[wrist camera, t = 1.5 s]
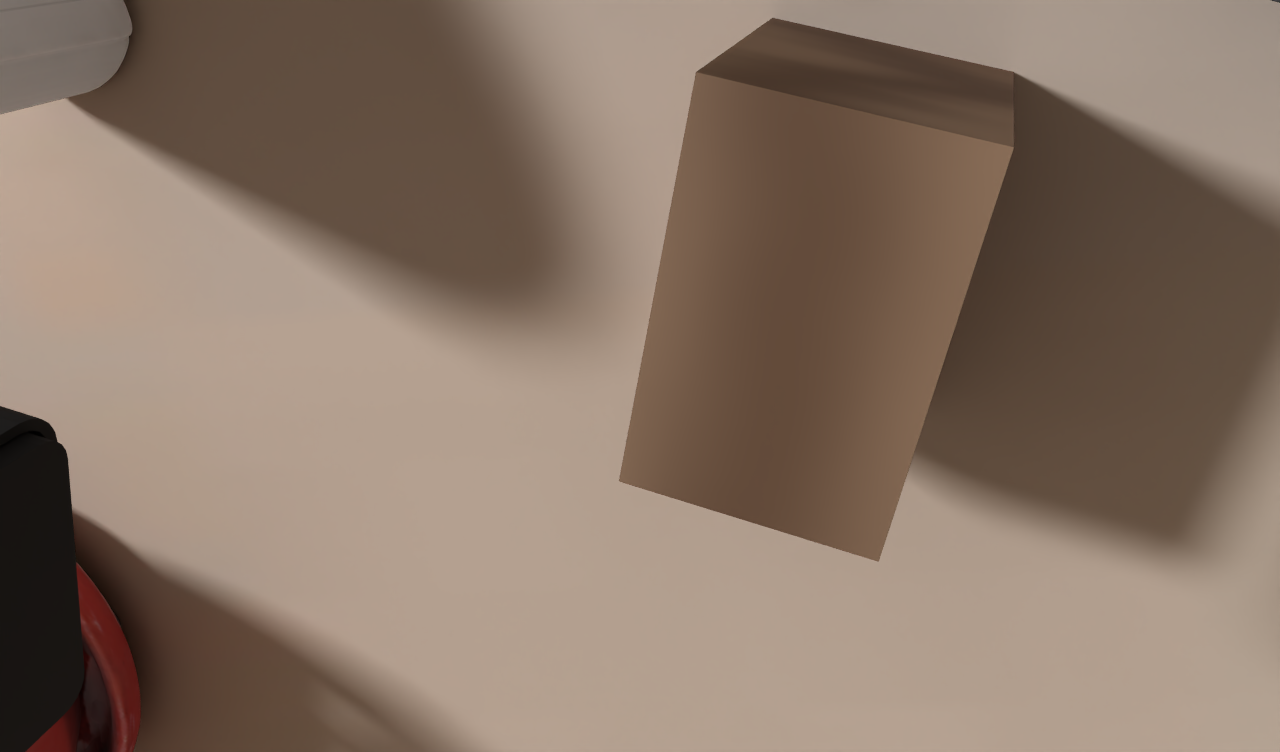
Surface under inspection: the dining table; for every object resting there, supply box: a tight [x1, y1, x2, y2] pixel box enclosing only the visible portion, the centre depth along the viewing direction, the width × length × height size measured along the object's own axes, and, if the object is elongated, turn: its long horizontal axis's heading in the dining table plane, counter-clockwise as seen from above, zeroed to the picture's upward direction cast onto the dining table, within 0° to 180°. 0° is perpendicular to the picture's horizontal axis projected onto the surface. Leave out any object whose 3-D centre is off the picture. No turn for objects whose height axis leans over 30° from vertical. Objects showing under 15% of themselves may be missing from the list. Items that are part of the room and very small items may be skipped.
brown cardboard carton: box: [619, 18, 1014, 562], centre depth 20 cm, size 4×7×6 cm, turn 170°
